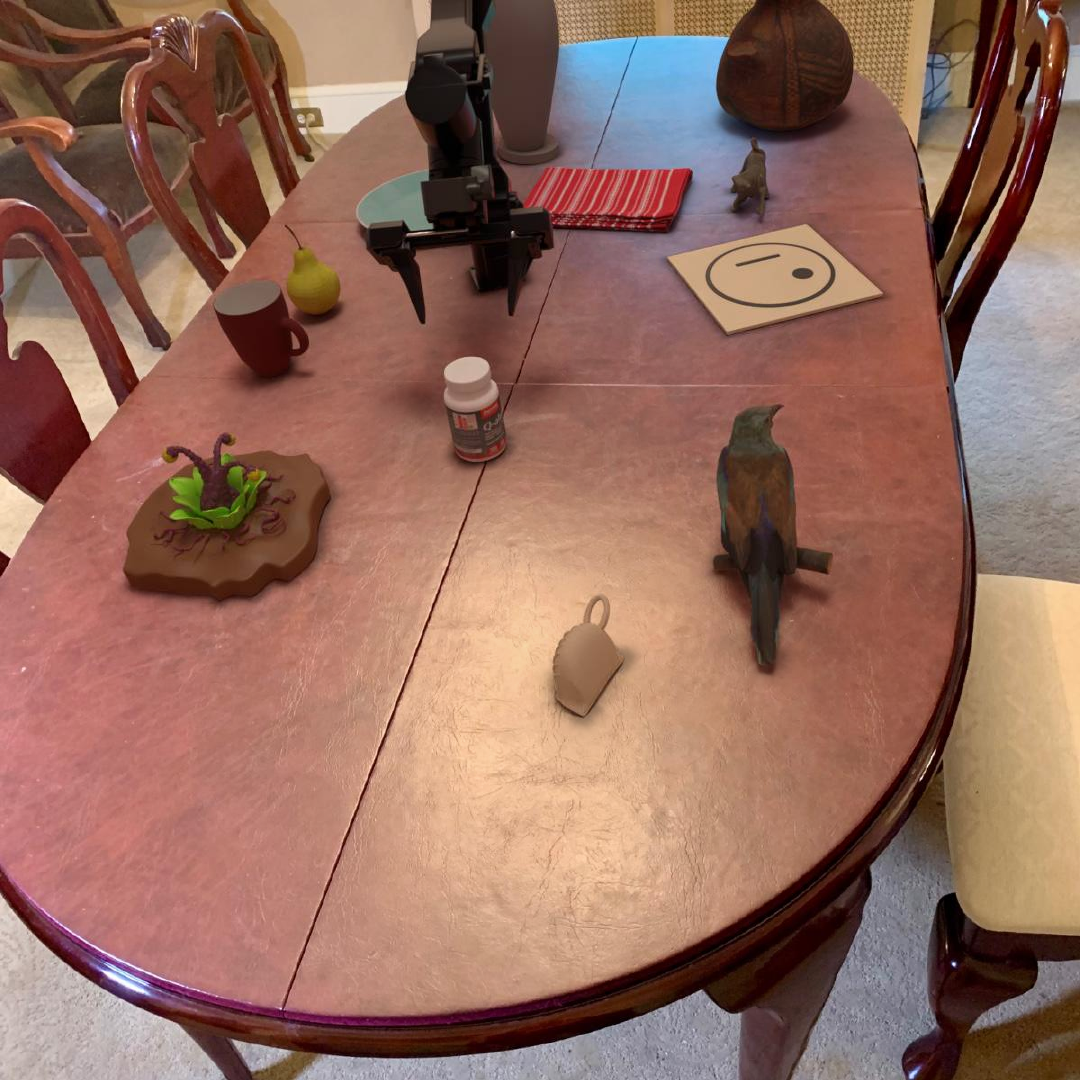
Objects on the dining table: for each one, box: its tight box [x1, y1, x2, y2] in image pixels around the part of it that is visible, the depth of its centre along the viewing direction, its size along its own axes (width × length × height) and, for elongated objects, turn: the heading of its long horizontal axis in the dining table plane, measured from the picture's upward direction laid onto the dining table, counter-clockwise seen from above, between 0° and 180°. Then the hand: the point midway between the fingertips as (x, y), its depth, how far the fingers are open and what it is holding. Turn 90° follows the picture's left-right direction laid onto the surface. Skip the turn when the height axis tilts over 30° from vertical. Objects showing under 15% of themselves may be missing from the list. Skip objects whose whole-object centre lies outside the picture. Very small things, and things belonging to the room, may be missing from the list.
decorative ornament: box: [552, 593, 625, 718], centre depth 76 cm, size 4×8×5 cm, turn 146°
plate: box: [355, 168, 433, 231], centre depth 142 cm, size 22×22×3 cm
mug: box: [212, 279, 310, 378], centre depth 113 cm, size 10×8×10 cm
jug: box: [715, 0, 855, 132], centre depth 144 cm, size 22×22×30 cm
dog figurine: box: [730, 136, 771, 216], centre depth 131 cm, size 12×6×7 cm, turn 165°
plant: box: [122, 432, 332, 601], centre depth 92 cm, size 20×20×11 cm
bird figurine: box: [712, 403, 834, 666], centre depth 79 cm, size 13×10×20 cm
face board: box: [666, 223, 884, 336], centre depth 119 cm, size 20×20×1 cm
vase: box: [486, 0, 560, 165], centre depth 143 cm, size 13×13×35 cm
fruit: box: [284, 223, 341, 316], centre depth 121 cm, size 7×7×12 cm
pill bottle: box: [443, 356, 508, 463], centre depth 97 cm, size 6×6×10 cm
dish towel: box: [522, 166, 694, 233], centre depth 138 cm, size 17×24×3 cm
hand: (466, 319), depth 96 cm, fingers open, 9 cm apart
